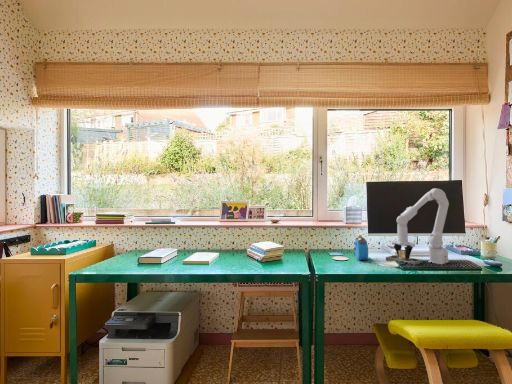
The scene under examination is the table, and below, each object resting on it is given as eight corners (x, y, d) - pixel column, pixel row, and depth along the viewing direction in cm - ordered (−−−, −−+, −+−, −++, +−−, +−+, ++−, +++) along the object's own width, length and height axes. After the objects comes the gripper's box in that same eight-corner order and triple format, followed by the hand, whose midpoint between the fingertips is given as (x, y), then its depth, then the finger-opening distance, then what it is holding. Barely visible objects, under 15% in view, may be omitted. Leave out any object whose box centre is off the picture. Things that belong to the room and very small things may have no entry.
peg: (408, 261, 217) (408, 250, 216) (404, 262, 214) (404, 251, 214) (402, 260, 220) (402, 249, 220) (399, 261, 218) (398, 250, 218)
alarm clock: (369, 261, 222) (367, 238, 222) (359, 262, 222) (357, 238, 222) (364, 257, 235) (363, 235, 235) (354, 257, 235) (353, 235, 235)
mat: (406, 264, 211) (406, 263, 211) (396, 266, 206) (396, 266, 206) (392, 261, 218) (392, 261, 218) (383, 264, 214) (383, 263, 214)
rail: (422, 263, 211) (422, 259, 211) (415, 265, 207) (414, 262, 207) (393, 258, 228) (393, 255, 228) (385, 260, 223) (385, 257, 223)
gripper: (388, 235, 221) (389, 256, 221) (409, 237, 209) (410, 260, 209) (395, 233, 225) (396, 254, 225) (416, 235, 212) (417, 258, 213)
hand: (403, 257), depth 217 cm, fingers open, 5 cm apart
